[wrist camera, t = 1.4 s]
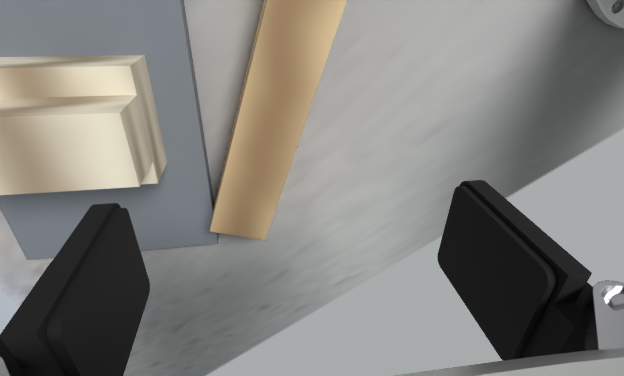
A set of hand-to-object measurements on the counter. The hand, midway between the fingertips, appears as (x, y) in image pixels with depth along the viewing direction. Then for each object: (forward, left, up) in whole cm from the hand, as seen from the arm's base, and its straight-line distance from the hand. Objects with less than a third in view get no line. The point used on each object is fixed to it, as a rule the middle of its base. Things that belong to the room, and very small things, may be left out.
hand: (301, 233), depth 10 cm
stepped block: (+12, +1, -15) cm, 19 cm away
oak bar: (0, 0, -17) cm, 17 cm away
